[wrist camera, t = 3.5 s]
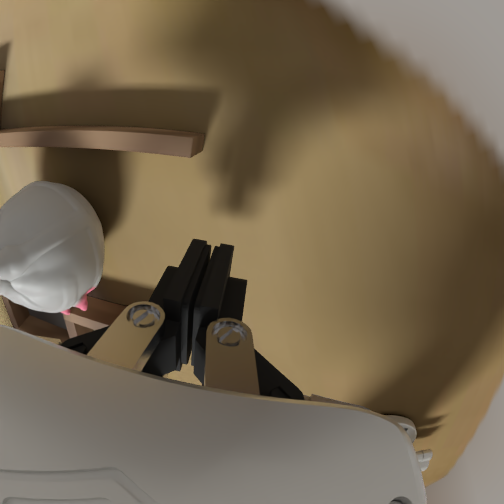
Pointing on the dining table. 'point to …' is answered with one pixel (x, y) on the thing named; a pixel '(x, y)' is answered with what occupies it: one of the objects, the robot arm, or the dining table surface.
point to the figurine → (50, 248)
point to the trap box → (94, 138)
